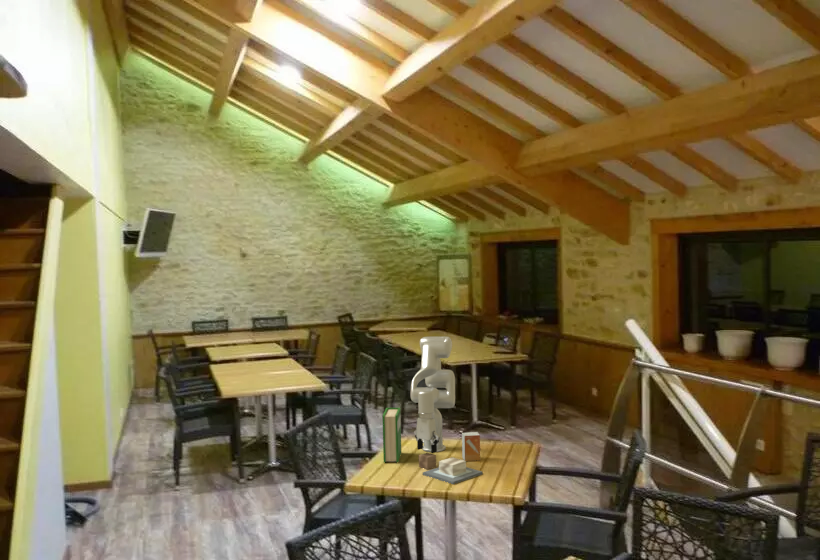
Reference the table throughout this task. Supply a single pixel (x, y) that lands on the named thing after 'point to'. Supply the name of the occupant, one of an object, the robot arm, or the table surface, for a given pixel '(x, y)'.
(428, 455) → the walnut cube
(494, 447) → the table surface
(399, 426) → the hardback book
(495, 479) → the table surface
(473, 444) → the small box
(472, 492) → the table surface
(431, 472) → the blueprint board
